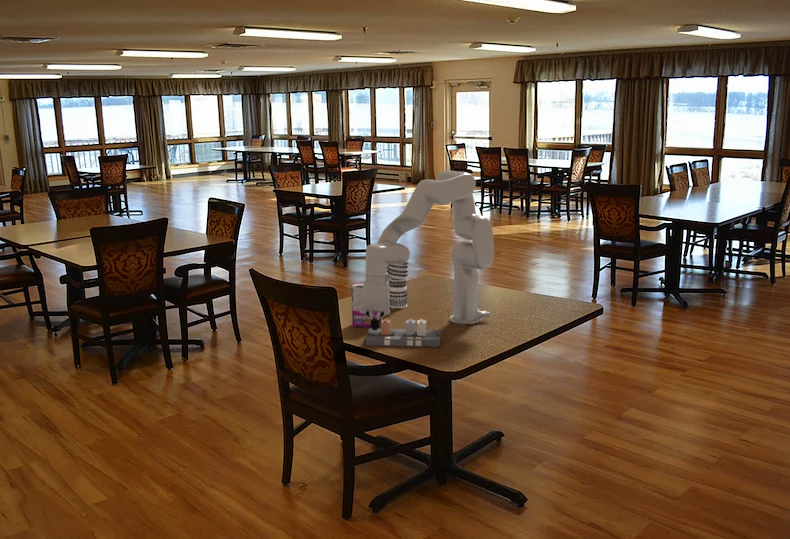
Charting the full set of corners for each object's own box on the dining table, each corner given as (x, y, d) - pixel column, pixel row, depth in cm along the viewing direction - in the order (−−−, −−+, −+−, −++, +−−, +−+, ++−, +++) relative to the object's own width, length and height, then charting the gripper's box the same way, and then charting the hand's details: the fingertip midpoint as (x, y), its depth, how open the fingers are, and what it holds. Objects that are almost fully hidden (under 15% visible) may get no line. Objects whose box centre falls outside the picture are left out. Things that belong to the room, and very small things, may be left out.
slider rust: (390, 331, 262) (390, 318, 261) (389, 335, 258) (389, 321, 257) (381, 331, 263) (381, 318, 261) (380, 334, 259) (380, 321, 258)
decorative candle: (395, 310, 300) (395, 250, 295) (382, 305, 308) (381, 247, 302) (412, 306, 306) (413, 248, 301) (398, 302, 313) (398, 245, 308)
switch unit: (439, 336, 266) (440, 327, 265) (439, 346, 254) (440, 337, 253) (369, 335, 267) (369, 326, 267) (365, 345, 255) (365, 336, 255)
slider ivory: (426, 332, 262) (426, 318, 260) (425, 335, 258) (426, 321, 257) (417, 332, 262) (417, 318, 261) (416, 335, 258) (416, 321, 257)
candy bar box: (381, 323, 282) (381, 282, 278) (381, 327, 277) (381, 285, 273) (352, 323, 282) (352, 282, 278) (352, 327, 277) (351, 285, 273)
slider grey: (415, 332, 262) (415, 318, 261) (414, 335, 258) (414, 321, 257) (406, 332, 262) (406, 318, 261) (405, 335, 258) (405, 321, 257)
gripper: (397, 278, 260) (396, 327, 263) (356, 276, 261) (355, 325, 264) (396, 282, 252) (394, 333, 256) (353, 280, 254) (352, 331, 257)
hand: (374, 329), depth 260 cm, fingers closed
